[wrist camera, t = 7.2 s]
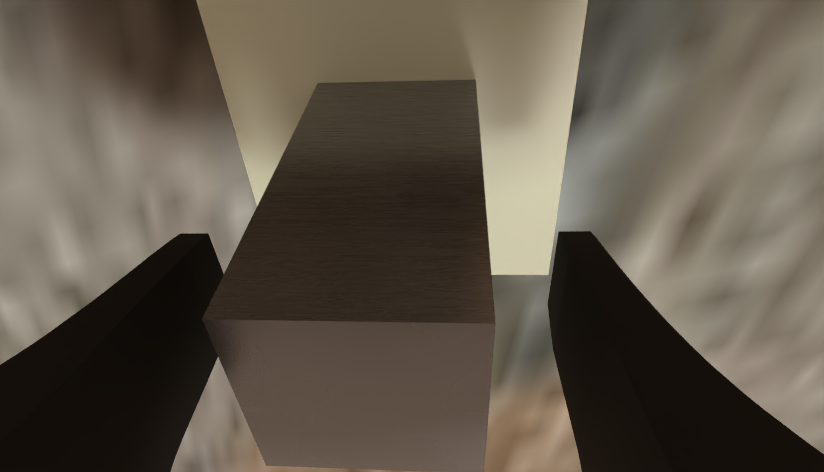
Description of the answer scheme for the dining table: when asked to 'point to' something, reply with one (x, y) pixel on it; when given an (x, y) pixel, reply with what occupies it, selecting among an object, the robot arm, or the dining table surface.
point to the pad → (417, 61)
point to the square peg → (367, 286)
